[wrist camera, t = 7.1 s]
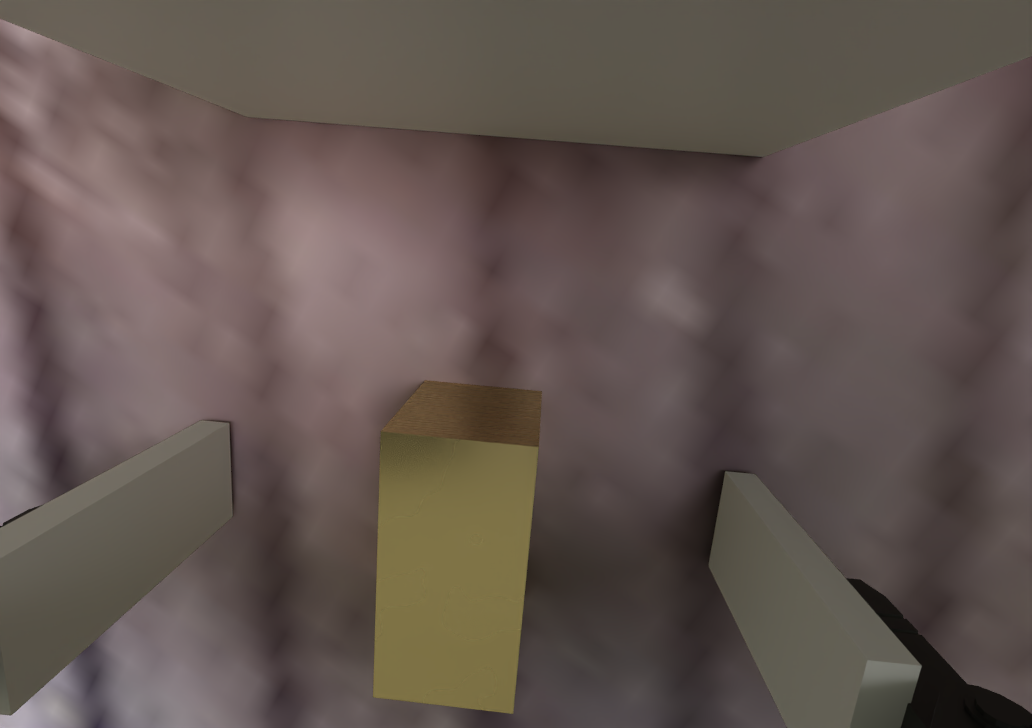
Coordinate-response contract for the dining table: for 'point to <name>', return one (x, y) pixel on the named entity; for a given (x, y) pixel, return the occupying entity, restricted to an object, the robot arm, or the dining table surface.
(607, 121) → the box
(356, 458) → the dining table surface
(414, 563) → the yellow rectangular block
